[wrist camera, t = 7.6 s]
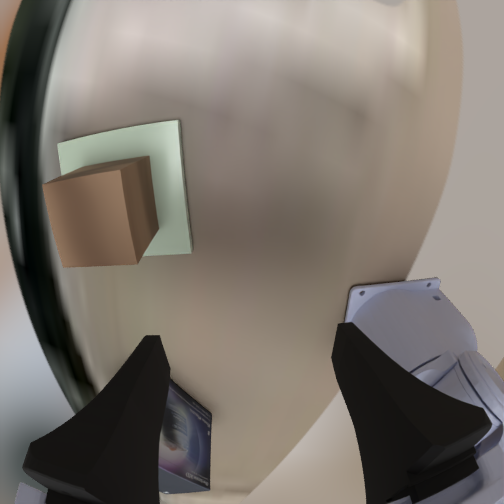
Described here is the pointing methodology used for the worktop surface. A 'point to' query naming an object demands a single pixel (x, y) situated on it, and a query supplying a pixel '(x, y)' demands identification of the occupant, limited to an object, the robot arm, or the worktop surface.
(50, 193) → the walnut cube
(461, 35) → the worktop surface
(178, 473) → the small box
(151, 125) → the plate
